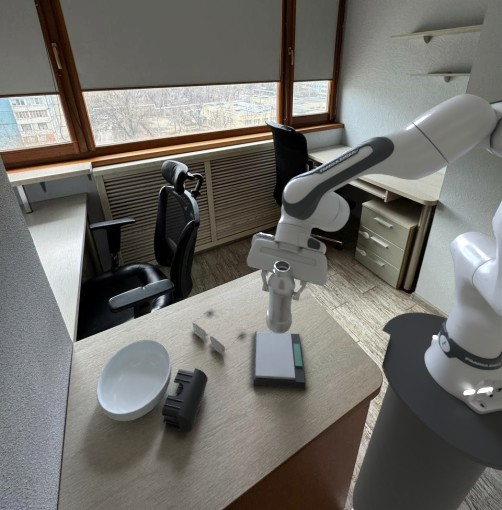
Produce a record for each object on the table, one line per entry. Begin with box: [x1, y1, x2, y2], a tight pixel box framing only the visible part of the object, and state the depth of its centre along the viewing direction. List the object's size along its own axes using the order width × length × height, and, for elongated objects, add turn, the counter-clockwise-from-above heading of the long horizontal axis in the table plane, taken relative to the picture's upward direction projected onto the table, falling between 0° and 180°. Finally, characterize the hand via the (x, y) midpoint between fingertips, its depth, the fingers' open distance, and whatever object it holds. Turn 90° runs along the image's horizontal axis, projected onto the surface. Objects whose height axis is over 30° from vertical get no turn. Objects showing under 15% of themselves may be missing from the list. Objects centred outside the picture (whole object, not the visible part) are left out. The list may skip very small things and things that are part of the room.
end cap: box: [161, 367, 209, 433], centre depth 63 cm, size 10×7×7 cm
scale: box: [252, 331, 306, 389], centre depth 74 cm, size 13×13×3 cm
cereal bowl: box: [95, 339, 173, 422], centre depth 66 cm, size 17×17×7 cm
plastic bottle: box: [265, 261, 296, 334], centre depth 66 cm, size 6×7×20 cm
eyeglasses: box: [191, 311, 243, 355], centre depth 81 cm, size 14×8×4 cm, turn 54°
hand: (280, 295), depth 65 cm, fingers closed on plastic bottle, 6 cm apart
